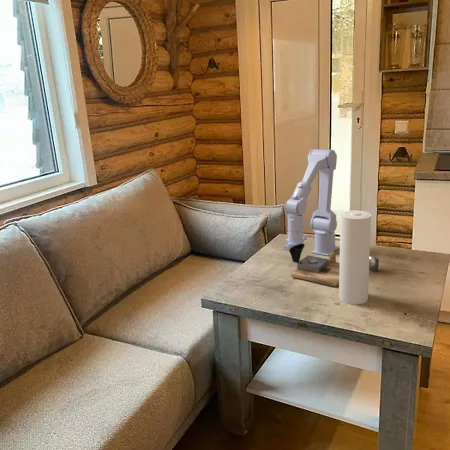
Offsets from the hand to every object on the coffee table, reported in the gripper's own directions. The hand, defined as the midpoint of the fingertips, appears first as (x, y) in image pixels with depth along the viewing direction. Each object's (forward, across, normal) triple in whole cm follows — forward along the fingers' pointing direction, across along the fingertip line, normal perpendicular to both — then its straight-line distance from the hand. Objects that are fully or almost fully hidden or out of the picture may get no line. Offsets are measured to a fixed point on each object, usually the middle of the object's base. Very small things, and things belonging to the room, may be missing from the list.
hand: (296, 261), depth 179 cm
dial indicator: (+3, -12, +27) cm, 30 cm away
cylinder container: (+3, +13, +29) cm, 32 cm away
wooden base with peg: (+3, 0, +12) cm, 12 cm away
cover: (+1, 0, +7) cm, 7 cm away
